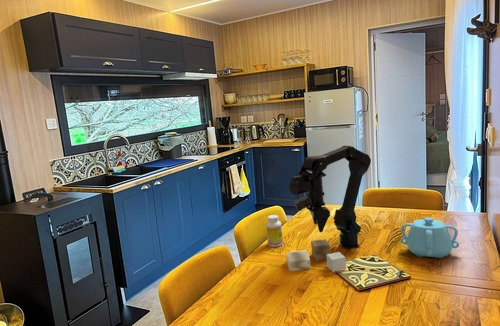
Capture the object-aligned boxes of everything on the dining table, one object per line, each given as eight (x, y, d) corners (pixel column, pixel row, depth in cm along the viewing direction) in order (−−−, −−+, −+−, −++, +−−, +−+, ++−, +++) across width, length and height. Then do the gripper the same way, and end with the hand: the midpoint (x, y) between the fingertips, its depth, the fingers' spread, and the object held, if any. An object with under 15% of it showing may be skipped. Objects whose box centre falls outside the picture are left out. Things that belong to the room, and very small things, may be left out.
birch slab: (307, 260, 144) (306, 250, 144) (310, 269, 136) (310, 259, 136) (286, 262, 144) (285, 253, 144) (289, 271, 136) (288, 261, 136)
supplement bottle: (282, 247, 159) (279, 218, 157) (266, 247, 160) (264, 219, 158) (283, 241, 165) (281, 213, 163) (269, 241, 167) (266, 214, 165)
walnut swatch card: (306, 250, 153) (305, 249, 153) (309, 257, 146) (309, 256, 146) (289, 252, 153) (289, 251, 153) (292, 259, 146) (292, 258, 146)
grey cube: (339, 264, 138) (338, 251, 137) (346, 270, 133) (345, 257, 132) (327, 267, 137) (326, 254, 136) (333, 272, 132) (332, 259, 131)
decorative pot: (432, 241, 150) (432, 209, 148) (464, 256, 134) (463, 220, 132) (397, 248, 146) (396, 216, 144) (425, 265, 131) (424, 228, 129)
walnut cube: (326, 253, 149) (325, 239, 148) (330, 259, 143) (329, 244, 142) (312, 254, 149) (310, 240, 148) (315, 261, 143) (314, 246, 142)
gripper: (290, 186, 150) (294, 222, 153) (298, 198, 132) (302, 239, 135) (317, 183, 151) (320, 219, 153) (329, 194, 132) (332, 235, 135)
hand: (318, 228), depth 144 cm, fingers open, 9 cm apart
